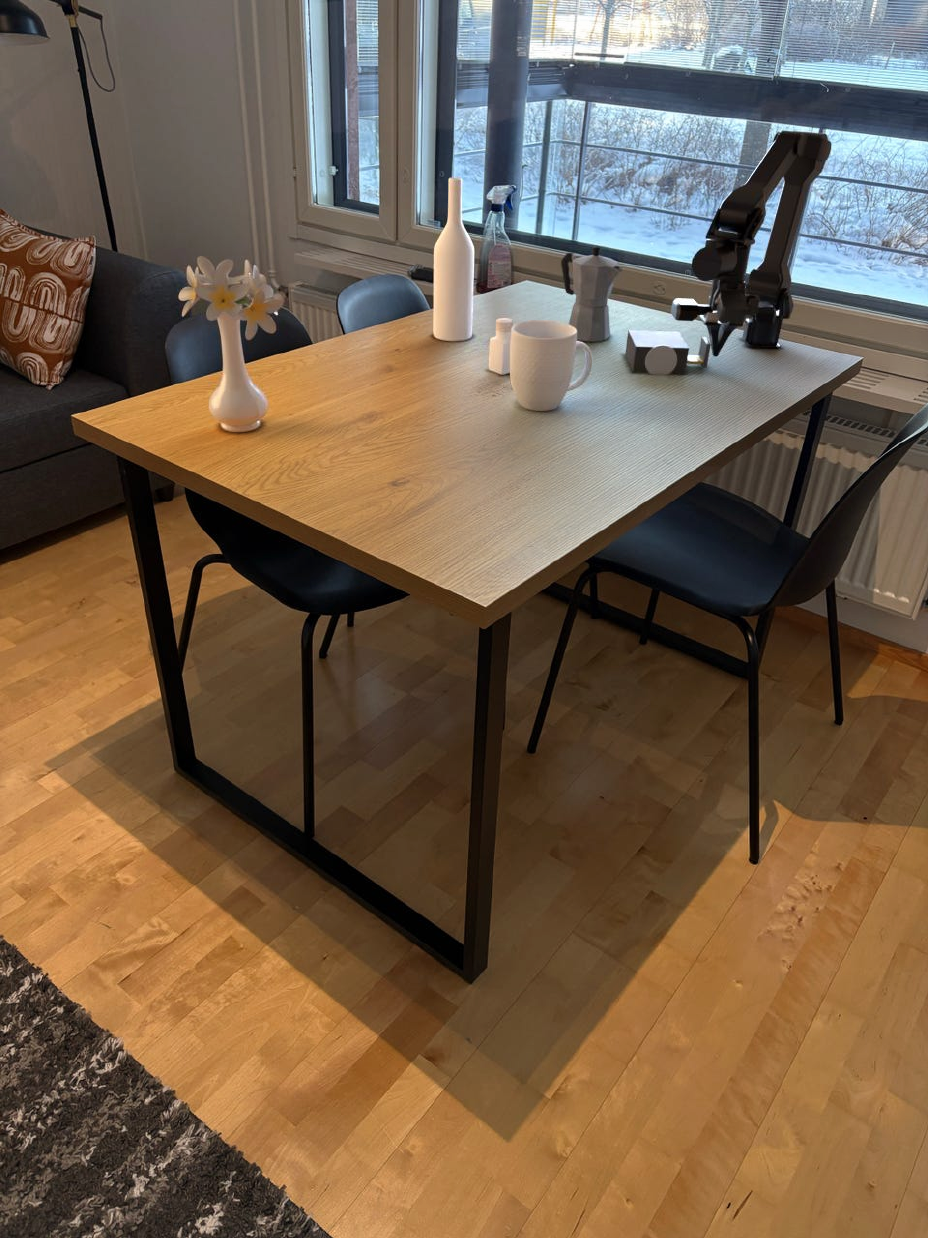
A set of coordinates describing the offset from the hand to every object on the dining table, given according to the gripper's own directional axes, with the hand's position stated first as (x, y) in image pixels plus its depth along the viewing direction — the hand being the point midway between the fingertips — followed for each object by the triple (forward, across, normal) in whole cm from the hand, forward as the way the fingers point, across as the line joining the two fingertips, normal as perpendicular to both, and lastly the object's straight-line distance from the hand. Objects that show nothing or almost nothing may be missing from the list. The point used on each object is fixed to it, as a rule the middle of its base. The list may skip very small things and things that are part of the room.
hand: (715, 355), depth 176 cm
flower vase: (+2, -84, -38) cm, 92 cm away
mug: (+2, -35, -24) cm, 42 cm away
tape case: (+2, -12, 0) cm, 12 cm away
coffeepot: (+2, -24, +19) cm, 30 cm away
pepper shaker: (+2, -42, -7) cm, 42 cm away
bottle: (+2, -52, +15) cm, 54 cm away
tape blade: (+2, -7, 0) cm, 7 cm away
